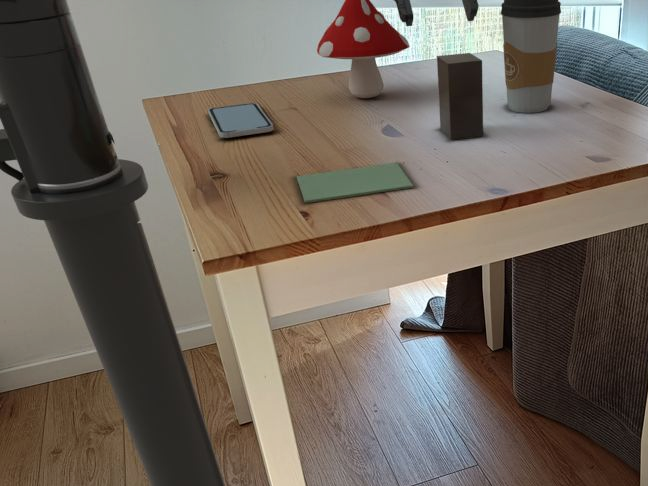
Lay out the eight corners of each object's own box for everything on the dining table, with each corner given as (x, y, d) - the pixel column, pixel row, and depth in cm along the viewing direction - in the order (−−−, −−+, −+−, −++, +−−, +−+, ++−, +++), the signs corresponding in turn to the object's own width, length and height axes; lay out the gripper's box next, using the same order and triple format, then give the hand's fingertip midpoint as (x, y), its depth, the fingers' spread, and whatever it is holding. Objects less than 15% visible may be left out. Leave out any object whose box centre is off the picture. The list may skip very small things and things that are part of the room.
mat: (305, 203, 74) (304, 200, 74) (296, 178, 80) (296, 176, 80) (413, 187, 77) (413, 185, 77) (397, 165, 83) (396, 162, 83)
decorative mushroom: (417, 85, 115) (411, -16, 106) (406, 108, 104) (397, -3, 95) (334, 86, 116) (321, -14, 108) (314, 109, 105) (298, -1, 96)
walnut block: (450, 140, 90) (447, 63, 85) (440, 129, 94) (436, 55, 89) (483, 136, 91) (482, 60, 86) (471, 126, 95) (469, 52, 90)
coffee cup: (490, 105, 104) (489, -6, 95) (537, 96, 107) (540, -12, 98) (519, 118, 98) (520, 1, 89) (568, 109, 101) (574, -5, 92)
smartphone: (256, 102, 106) (274, 126, 94) (257, 107, 106) (275, 132, 95) (206, 108, 104) (219, 133, 92) (208, 114, 104) (220, 140, 93)
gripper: (364, -107, 88) (391, 4, 86) (469, -111, 92) (499, -4, 89) (361, -61, 96) (386, 42, 93) (458, -66, 99) (486, 33, 96)
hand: (441, 19), depth 91 cm, fingers open, 8 cm apart
